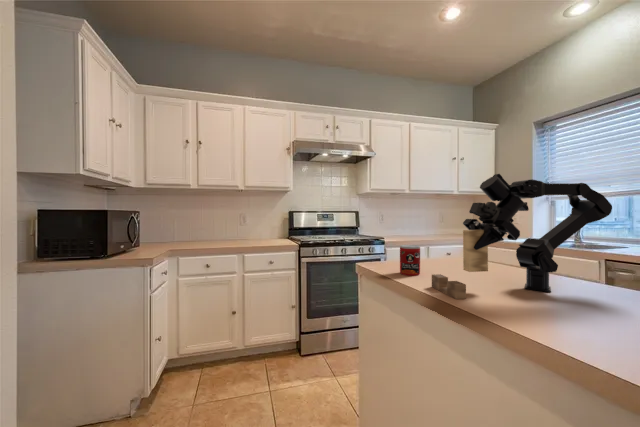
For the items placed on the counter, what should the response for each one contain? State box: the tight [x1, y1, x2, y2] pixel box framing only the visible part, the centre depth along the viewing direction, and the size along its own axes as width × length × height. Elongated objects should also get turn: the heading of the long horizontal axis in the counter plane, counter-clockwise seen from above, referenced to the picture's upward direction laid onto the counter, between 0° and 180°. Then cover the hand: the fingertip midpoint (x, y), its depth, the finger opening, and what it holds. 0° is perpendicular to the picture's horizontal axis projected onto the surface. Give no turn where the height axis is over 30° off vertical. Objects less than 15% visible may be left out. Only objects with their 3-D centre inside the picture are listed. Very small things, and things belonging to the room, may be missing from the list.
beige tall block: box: [462, 229, 489, 273], centre depth 88 cm, size 6×3×12 cm, turn 96°
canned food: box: [399, 244, 421, 277], centre depth 112 cm, size 8×8×11 cm
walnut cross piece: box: [431, 273, 467, 300], centre depth 86 cm, size 13×3×4 cm, turn 7°
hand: (471, 248), depth 88 cm, fingers closed on beige tall block, 3 cm apart
